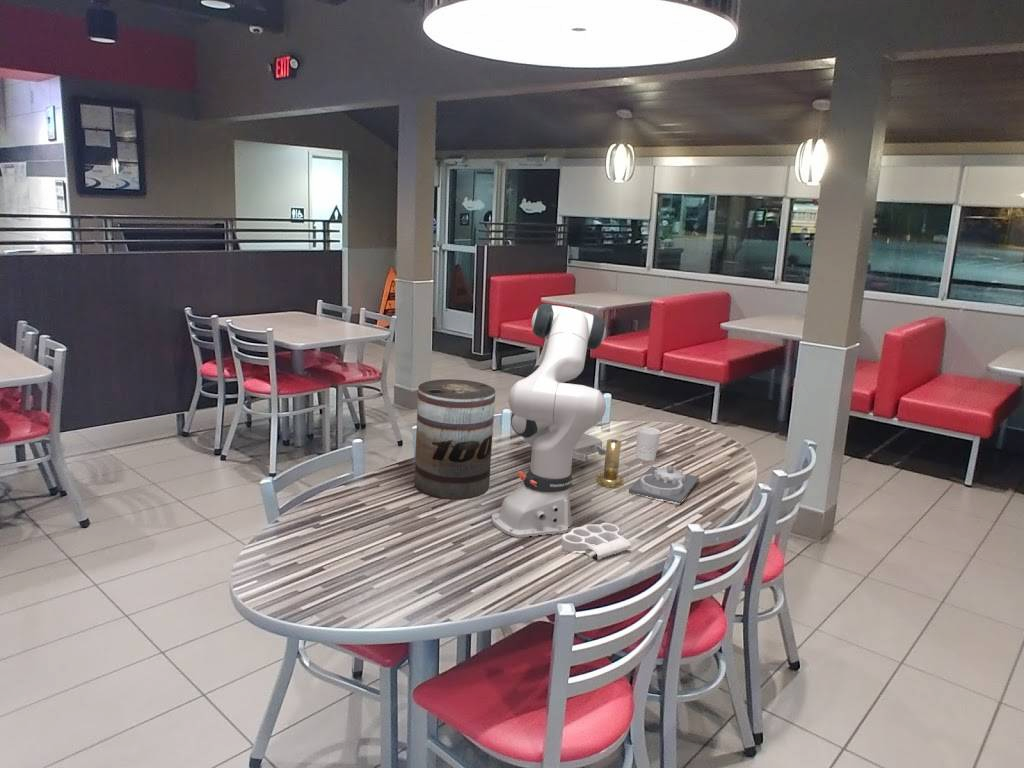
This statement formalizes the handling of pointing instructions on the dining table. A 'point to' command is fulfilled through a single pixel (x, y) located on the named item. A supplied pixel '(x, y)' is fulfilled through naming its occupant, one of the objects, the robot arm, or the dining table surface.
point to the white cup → (647, 443)
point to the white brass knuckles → (596, 539)
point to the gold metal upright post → (611, 466)
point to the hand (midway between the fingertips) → (595, 455)
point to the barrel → (454, 438)
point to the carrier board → (664, 484)
